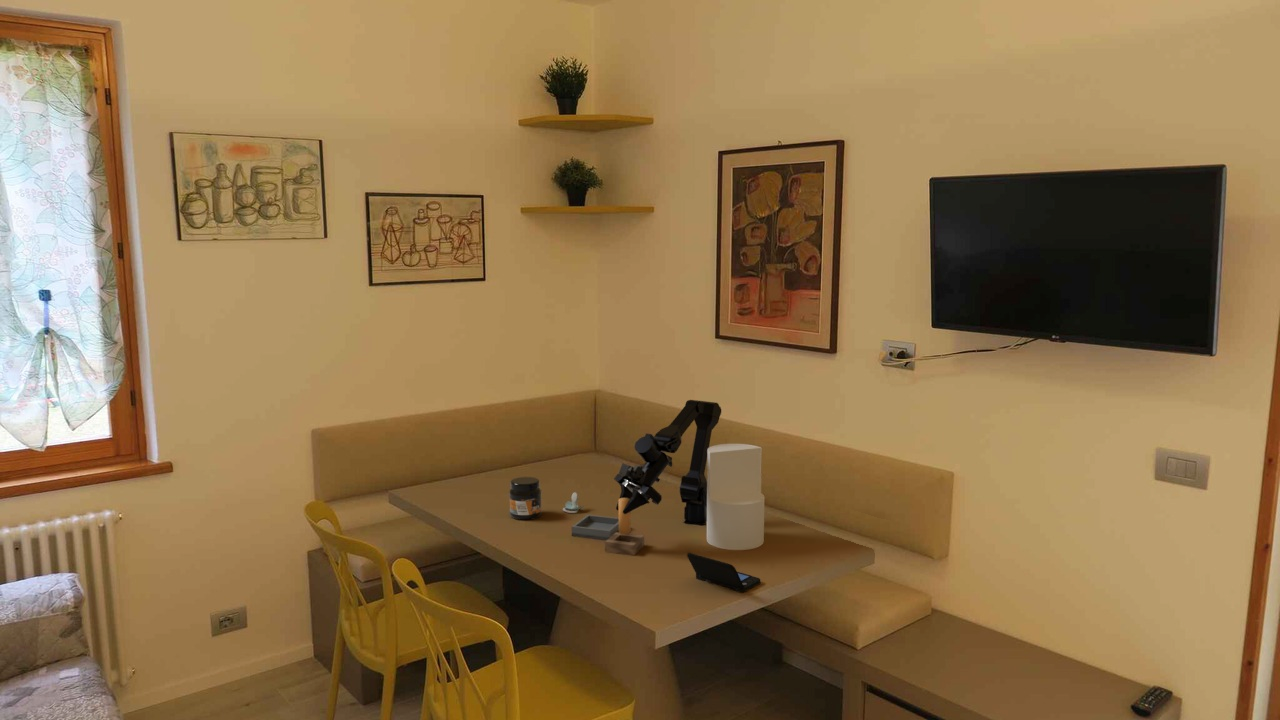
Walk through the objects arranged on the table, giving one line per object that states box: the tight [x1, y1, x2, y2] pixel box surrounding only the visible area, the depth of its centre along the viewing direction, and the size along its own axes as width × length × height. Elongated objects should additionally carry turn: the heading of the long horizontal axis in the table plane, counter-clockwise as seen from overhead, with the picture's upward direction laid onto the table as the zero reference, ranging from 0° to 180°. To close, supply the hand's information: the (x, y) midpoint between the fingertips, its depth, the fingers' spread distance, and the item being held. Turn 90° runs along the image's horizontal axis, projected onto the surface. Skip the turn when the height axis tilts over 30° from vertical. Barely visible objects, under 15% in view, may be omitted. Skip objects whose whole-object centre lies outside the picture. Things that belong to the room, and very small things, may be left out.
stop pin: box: [617, 497, 632, 534], centre depth 260 cm, size 4×4×10 cm
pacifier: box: [562, 491, 584, 514], centre depth 297 cm, size 7×6×6 cm
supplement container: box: [508, 476, 542, 521], centre depth 292 cm, size 10×10×12 cm
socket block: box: [604, 532, 645, 556], centre depth 262 cm, size 9×9×3 cm
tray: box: [571, 514, 619, 541], centre depth 276 cm, size 13×13×3 cm
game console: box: [686, 552, 761, 594], centre depth 235 cm, size 16×14×9 cm
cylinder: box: [706, 443, 765, 551], centre depth 267 cm, size 17×17×28 cm
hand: (620, 511), depth 260 cm, fingers closed on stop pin, 3 cm apart
